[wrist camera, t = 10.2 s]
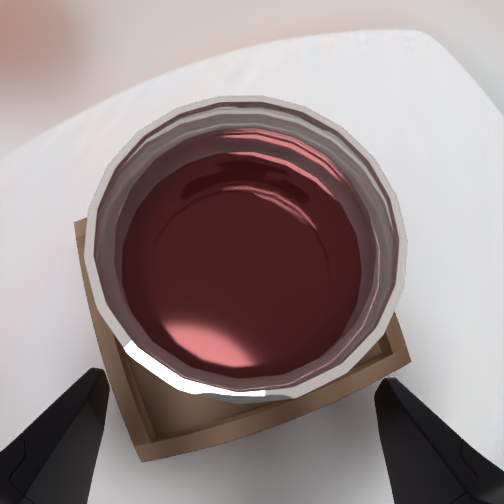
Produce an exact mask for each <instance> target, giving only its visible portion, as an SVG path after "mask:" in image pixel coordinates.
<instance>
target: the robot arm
mask: <svg viewBox="0 0 504 504" xmlns="http://www.w3.org/2000/svg"><path fill="white" fill-rule="evenodd" d="M109 392H110V387H109V383H108V380H107V377H106V374H105V372H104V370H103V369H98V368H91V369H89V370H88V371H87V372H86V373H85V374H84V375H83V376H82V377H80V378H79V379H78V380H77V381H76V382H75V383H74V384H73V385H72V386H71V387H70V388H69V389H68V390H66V391H65V392H64V393H63V394H62V395H61V396H60V397H59V398H58V399H57V400H56V401H55V402H54V403H53V404H52V405H50V406H49V407H48V408H47V409H46V410H45V411H44V412H43V413H42V414H41V415H40V416H39V417H38V418H37V419H36V420H35V421H34V422H33V423H31V424H30V425H29V426H28V427H27V428H26V429H25V430H24V431H23V433H21V434H20V435H19V436H18V437H17V438H16V439H15V440H14V441H12V442H11V443H10V444H9V445H8V446H7V447H6V448H5V449H3V450H2V451H1V452H0V504H87V501H88V496H89V491H90V486H91V482H92V477H93V473H94V468H95V464H96V460H97V455H98V451H99V447H100V443H101V439H102V435H103V431H104V425H105V418H106V411H107V404H108V398H109ZM374 400H375V407H376V414H377V421H378V429H379V436H380V440H381V445H382V449H383V453H384V457H385V462H386V466H387V470H388V475H389V479H390V484H391V489H392V494H393V498H394V503H395V504H504V471H503V470H501V469H500V468H499V467H497V466H496V465H494V464H493V463H492V462H490V461H489V460H487V459H486V458H485V457H484V456H482V455H481V454H480V453H478V452H477V451H476V450H475V449H474V448H472V447H471V446H470V445H469V444H468V443H467V442H466V441H465V440H463V439H461V437H460V436H459V435H458V434H457V433H456V432H455V431H453V430H452V429H451V428H450V427H449V426H448V425H447V424H446V423H445V422H444V421H442V420H441V419H440V418H439V417H438V416H437V415H436V414H435V413H434V412H433V411H431V410H430V409H429V408H428V407H427V406H426V405H425V404H424V403H423V402H422V401H420V400H419V399H418V398H417V397H416V396H415V395H414V394H413V393H412V392H410V391H409V390H408V389H407V388H406V387H405V386H404V385H403V384H402V383H401V382H399V381H398V380H397V379H396V378H393V377H392V378H384V379H383V380H382V382H381V383H380V385H379V387H378V389H377V390H376V392H375V396H374Z"/></svg>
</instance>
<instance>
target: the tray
mask: <svg viewBox="0 0 504 504" xmlns="http://www.w3.org/2000/svg"><path fill="white" fill-rule="evenodd" d="M74 226H75V234H76V241H77V247H78V254H79V260H80V265H81V271H82V276H83V281H84V286H85V291H86V296H87V301H88V305H89V309H90V314H91V318H92V322H93V326H94V330H95V334H96V337H97V341H98V345H99V348H100V352H101V355H102V358H103V362H104V365H105V368H106V371H107V375H108V378H109V381H110V384H111V387H112V390H113V393H114V395H115V398H116V401H117V404H118V407H119V409H120V412H121V415H122V417H123V420H124V422H125V425H126V427H127V430H128V432H129V435H130V437H131V440H132V442H133V444H134V447H135V449H136V451H137V453H138V456H139V458H140V460H141V462H147V461H152V460H157V459H162V458H167V457H171V456H176V455H180V454H184V453H189V452H193V451H197V450H200V449H204V448H208V447H212V446H215V445H219V444H222V443H226V442H229V441H232V440H235V439H239V438H242V437H245V436H248V435H251V434H254V433H257V432H260V431H263V430H266V429H268V428H271V427H274V426H277V425H279V424H282V423H285V422H287V421H290V420H292V419H295V418H297V417H300V416H302V415H305V414H307V413H310V412H312V411H314V410H317V409H319V408H321V407H324V406H326V405H328V404H330V403H333V402H335V401H337V400H339V399H341V398H343V397H346V396H348V395H350V394H352V393H354V392H356V391H358V390H360V389H362V388H364V387H366V386H368V385H370V384H372V383H374V382H376V381H378V380H380V379H381V378H383V377H385V376H387V375H389V374H391V373H392V372H394V371H396V370H398V369H400V368H401V367H403V366H405V365H407V364H408V363H410V362H411V359H410V356H409V353H408V350H407V347H406V344H405V340H404V337H403V334H402V331H401V328H400V325H399V323H398V320H397V317H396V314H395V311H394V313H393V315H392V317H391V319H390V322H389V324H388V326H387V328H386V330H385V333H384V334H383V335H382V337H381V338H380V339H379V340H378V341H377V342H376V343H375V344H374V345H373V346H372V348H371V349H370V350H369V351H368V352H367V353H366V354H365V355H364V356H363V357H362V358H361V359H360V360H359V361H358V362H357V363H356V364H355V365H354V366H353V367H352V368H351V369H350V370H349V371H348V372H347V373H346V374H344V375H342V376H340V377H338V378H336V379H334V380H332V381H330V382H328V383H326V384H324V385H322V386H320V387H318V388H316V389H314V390H312V391H310V392H308V393H306V394H304V395H302V396H300V397H297V398H293V399H285V400H277V401H268V402H258V403H247V404H233V403H229V402H225V401H221V400H216V399H212V398H208V397H205V396H201V395H197V394H193V393H190V392H186V391H183V390H179V389H177V388H176V387H174V386H172V385H171V384H169V383H168V382H166V381H165V380H163V379H162V378H161V377H159V376H158V375H156V374H155V373H153V372H152V371H150V370H149V369H148V368H146V367H145V366H143V365H142V364H141V363H139V362H138V361H136V360H135V359H134V358H132V357H131V356H130V355H129V354H128V353H127V351H126V350H125V349H124V347H123V346H122V345H121V343H120V342H119V340H118V339H117V337H116V336H115V335H114V333H113V332H112V330H111V329H110V327H109V326H108V324H107V323H106V321H105V320H104V319H103V317H102V315H101V314H100V312H99V311H98V309H97V306H96V303H95V299H94V296H93V292H92V288H91V285H90V281H89V277H88V273H87V269H86V264H85V260H84V250H85V238H86V227H87V218H84V219H82V220H79V221H76V222H74Z"/></svg>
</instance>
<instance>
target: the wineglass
mask: <svg viewBox="0 0 504 504" xmlns="http://www.w3.org/2000/svg"><path fill="white" fill-rule="evenodd" d="M407 243H408V241H407V236H406V231H405V227H404V223H403V218H402V214H401V210H400V206H399V202H398V198H397V196H396V194H395V192H394V190H393V188H392V187H391V185H390V183H389V181H388V180H387V178H386V176H385V174H384V173H383V171H382V169H381V168H380V166H379V164H378V163H377V161H376V159H375V158H374V157H373V156H372V155H371V154H370V153H369V152H368V151H367V150H366V149H365V148H364V147H363V146H362V145H361V144H360V143H359V142H358V141H357V140H356V139H355V138H354V137H353V136H352V135H351V134H349V133H348V132H347V131H346V130H345V129H344V128H343V127H341V126H340V125H338V124H336V123H334V122H333V121H331V120H329V119H327V118H325V117H324V116H322V115H320V114H318V113H316V112H314V111H313V110H311V109H309V108H307V107H305V106H301V105H298V104H294V103H290V102H286V101H282V100H278V99H274V98H270V97H266V96H218V97H214V98H210V99H206V100H203V101H199V102H195V103H192V104H188V105H185V106H182V107H178V108H176V109H174V110H172V111H171V112H169V113H167V114H165V115H164V116H162V117H160V118H159V119H157V120H156V121H154V122H152V123H151V124H149V125H147V126H146V127H144V128H143V129H141V130H140V131H138V132H137V133H136V134H135V135H134V136H133V138H132V139H131V140H130V141H129V142H128V143H127V144H126V145H125V146H124V147H123V148H122V150H121V151H120V152H119V153H118V154H117V155H116V156H115V158H114V159H113V160H112V161H111V162H110V163H109V164H108V166H107V168H106V170H105V172H104V174H103V177H102V179H101V181H100V183H99V185H98V188H97V190H96V192H95V194H94V197H93V199H92V201H91V204H90V206H89V209H88V217H87V227H86V238H85V250H84V260H85V264H86V269H87V273H88V277H89V281H90V285H91V288H92V292H93V296H94V299H95V303H96V306H97V309H98V311H99V312H100V314H101V315H102V317H103V319H104V320H105V321H106V323H107V324H108V326H109V327H110V329H111V330H112V332H113V333H114V335H115V336H116V337H117V339H118V340H119V342H120V343H121V345H122V346H123V347H124V349H125V350H126V351H127V353H128V354H129V355H130V356H131V357H132V358H134V359H135V360H136V361H138V362H139V363H141V364H142V365H143V366H145V367H146V368H148V369H149V370H150V371H152V372H153V373H155V374H156V375H158V376H159V377H161V378H162V379H163V380H165V381H166V382H168V383H169V384H171V385H172V386H174V387H176V388H177V389H179V390H183V391H186V392H190V393H193V394H197V395H201V396H205V397H208V398H212V399H216V400H221V401H225V402H229V403H233V404H247V403H258V402H268V401H277V400H285V399H293V398H297V397H300V396H302V395H304V394H306V393H308V392H310V391H312V390H314V389H316V388H318V387H320V386H322V385H324V384H326V383H328V382H330V381H332V380H334V379H336V378H338V377H340V376H342V375H344V374H346V373H347V372H348V371H349V370H350V369H351V368H352V367H353V366H354V365H355V364H356V363H357V362H358V361H359V360H360V359H361V358H362V357H363V356H364V355H365V354H366V353H367V352H368V351H369V350H370V349H371V348H372V346H373V345H374V344H375V343H376V342H377V341H378V340H379V339H380V338H381V337H382V335H383V334H384V333H385V330H386V328H387V326H388V324H389V322H390V319H391V317H392V315H393V313H394V310H395V308H396V306H397V303H398V301H399V299H400V296H401V294H402V291H403V289H404V281H405V271H406V258H407Z"/></svg>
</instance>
